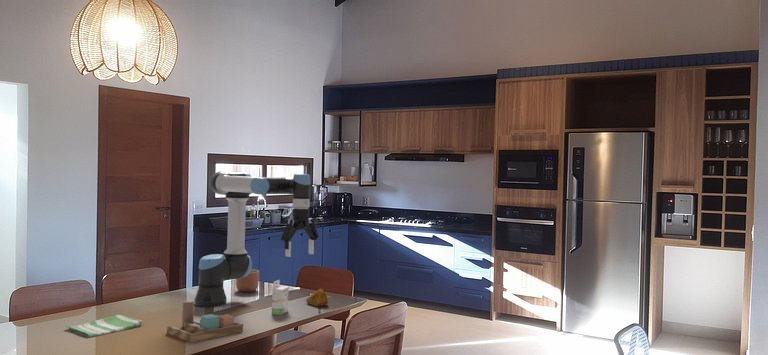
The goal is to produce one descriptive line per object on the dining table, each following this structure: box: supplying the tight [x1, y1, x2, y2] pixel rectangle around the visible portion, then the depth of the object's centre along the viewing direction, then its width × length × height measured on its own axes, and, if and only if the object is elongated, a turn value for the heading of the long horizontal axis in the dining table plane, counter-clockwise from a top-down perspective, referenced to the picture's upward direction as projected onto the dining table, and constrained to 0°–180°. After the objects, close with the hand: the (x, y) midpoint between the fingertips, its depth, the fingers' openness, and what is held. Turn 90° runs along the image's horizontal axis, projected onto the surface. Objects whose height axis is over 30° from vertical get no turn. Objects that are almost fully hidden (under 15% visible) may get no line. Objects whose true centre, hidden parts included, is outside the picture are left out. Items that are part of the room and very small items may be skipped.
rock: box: [305, 288, 329, 307], centre depth 291 cm, size 11×8×10 cm
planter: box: [235, 269, 260, 293], centre depth 318 cm, size 12×12×11 cm
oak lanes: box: [166, 318, 244, 343], centre depth 235 cm, size 18×23×3 cm
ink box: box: [271, 279, 290, 316], centre depth 271 cm, size 9×5×15 cm, turn 168°
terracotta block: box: [218, 313, 235, 327], centre depth 238 cm, size 5×5×6 cm
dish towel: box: [66, 314, 143, 339], centre depth 238 cm, size 18×23×3 cm
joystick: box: [181, 300, 220, 330], centre depth 238 cm, size 21×5×10 cm, turn 49°
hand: (299, 255), depth 264 cm, fingers open, 13 cm apart
